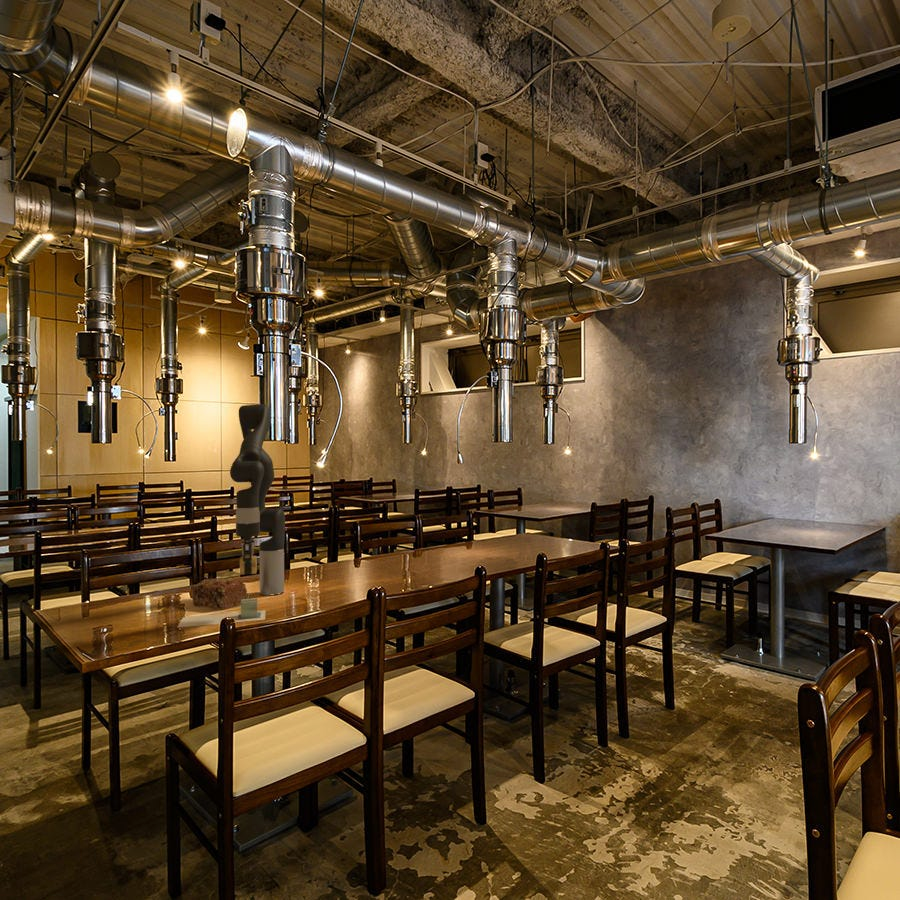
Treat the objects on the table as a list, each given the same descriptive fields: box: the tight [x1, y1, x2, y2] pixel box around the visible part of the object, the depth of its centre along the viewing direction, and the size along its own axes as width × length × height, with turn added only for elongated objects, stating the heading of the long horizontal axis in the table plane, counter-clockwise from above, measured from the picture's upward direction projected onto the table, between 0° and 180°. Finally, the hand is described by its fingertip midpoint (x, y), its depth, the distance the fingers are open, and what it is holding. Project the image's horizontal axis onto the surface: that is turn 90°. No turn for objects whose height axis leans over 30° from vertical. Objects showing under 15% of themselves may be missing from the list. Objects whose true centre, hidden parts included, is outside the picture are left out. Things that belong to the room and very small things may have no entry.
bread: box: [191, 578, 248, 611], centre depth 208 cm, size 19×11×10 cm, turn 55°
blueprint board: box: [177, 610, 266, 628], centre depth 189 cm, size 12×26×1 cm, turn 107°
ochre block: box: [239, 555, 258, 575], centre depth 192 cm, size 5×5×5 cm
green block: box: [240, 598, 259, 618], centre depth 191 cm, size 5×5×5 cm
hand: (248, 572), depth 192 cm, fingers closed on ochre block, 5 cm apart
